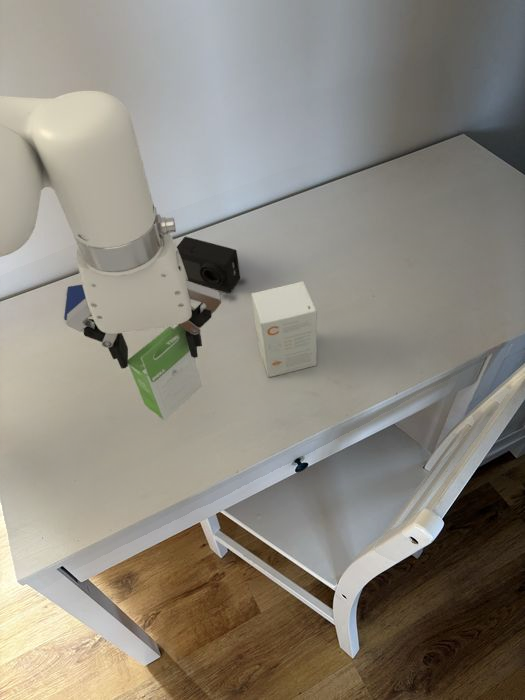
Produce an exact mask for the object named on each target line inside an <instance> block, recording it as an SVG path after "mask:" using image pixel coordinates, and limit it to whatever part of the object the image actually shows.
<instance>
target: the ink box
mask: <svg viewBox="0 0 525 700" xmlns="http://www.w3.org/2000/svg"><path fill="white" fill-rule="evenodd" d="M127 362H128V368H129V370H130V372H131V374H132V377H133V381H134V382H135V385H136V387H137V390H138V392H139V394H140V397H141V400H142V402H143V404H144V406H145V407H146V408H148V410H150V411H151V412H153V413H154V414H156V415H157V416H158V417H159V419H161V420H163V421H167V420H168V419H169V418H170V417H171V416H172V415H173V414H174V413H175V412H176V411H178V410H179V409H180V407H181V406H183V405H184V404H185V403H186V402H187V401H188V400H190V399H191V398H192V397H193V396H194V394H196V393H197V392H198V391H199V390H200V389H201V388H202V387H203V384H202V380H201V376H200V372H199V368H198V365H197V361H196V357H195V358H193V357H191V354H190V350H189V346H188V342H187V339H186V330H185V329H184V328H182V327H181V326H180V325H178V324H177V325H175V327H174V328H173V327H172V326H167V328H165V329H164V330H163V331H162V332H160V333H159V334H158V335H156V337H154V338H153V339H152V340H150V341H149V342H148V343H146V345H145V346H143V347H141V348H140V349H139V350H138V351H137V352H136V353H134V354H133V355H132V356H131V357H129V358H128V360H127Z"/></svg>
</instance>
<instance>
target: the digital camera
mask: <svg viewBox="0 0 525 700" xmlns="http://www.w3.org/2000/svg"><path fill="white" fill-rule="evenodd" d="M176 247H177V249H178V251H179V254H180V256H181V259H182V262H183V265H184V268H185V271H186V275H187V278H188V281H190V282H192V283H195V284H198V285H201V286H204V287H207V288H210V289H213V290H215V291H219V292H223V293H227V294H231V293H232V292H233V290H234V288H235V287H236V285H237V284H238V283H239V281H240V279H241V273H240V266H239V265H240V264H239V259H238V252H237V249H235V248H231V247H227V246H223V245H220V244H216V243H213V242H208V241H205V240H201V239H197V238H193V237H188V236H184V237H183V238H182V239H181V241H180V242H179V243H178V245H176Z"/></svg>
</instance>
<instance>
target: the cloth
mask: <svg viewBox="0 0 525 700" xmlns="http://www.w3.org/2000/svg"><path fill="white" fill-rule="evenodd" d="M66 290H67V291H66V298H65V307H64V316H63V317H64V318H63V319H64V320H65V321H67V314H68V313H69V312H70V311H71V310H73V309H74V308H75V307H76V306H77V305H78V304H79V303H81V302H82V301H83V300H84V299H85V298H86V296H85V293H84V289H83V286H82V284H77V285H70V286H67V289H66ZM89 317H92V315H90V316H89Z"/></svg>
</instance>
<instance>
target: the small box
mask: <svg viewBox="0 0 525 700" xmlns="http://www.w3.org/2000/svg"><path fill="white" fill-rule="evenodd" d="M251 302H252V308H253V315H254V323H255V331H256V337H257V344H258V350H259V352H260V355H261V359H262V363H263V365H264V368H265V371H266V372H265V373H266V374H267V375H266V376H267V377H268V378H272V377H277V376H279V375H285V374H288V373H291V372H297V371H300V370H304V369H307V368H311V367H316V366H317V355H318V354H317V349H318V348H317V309H316V307H315V304H314V302H313V301H312V298H311V296H310V293H309V291H308V289H307V286H306V284H305V282H304V281H303V280H302V281H298V282H294V283H290V284H285V285H281V286H277V287H273V288H269V289H265V290H261V291H255V292H252V293H251Z"/></svg>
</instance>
